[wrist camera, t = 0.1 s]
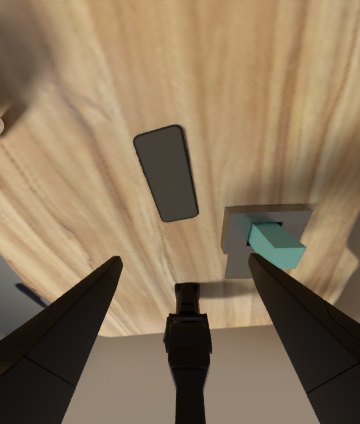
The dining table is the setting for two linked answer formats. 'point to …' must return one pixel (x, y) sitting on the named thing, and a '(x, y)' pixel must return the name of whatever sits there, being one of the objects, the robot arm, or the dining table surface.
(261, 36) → the dining table surface
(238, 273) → the dark gray square pad
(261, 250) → the teal square block
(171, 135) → the smartphone
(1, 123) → the spread jar
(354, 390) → the robot arm
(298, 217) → the gray rectangular frame
